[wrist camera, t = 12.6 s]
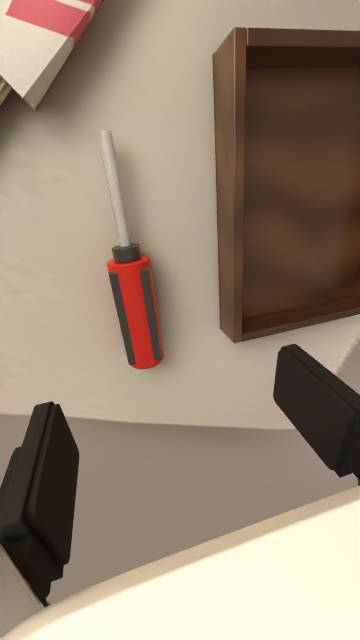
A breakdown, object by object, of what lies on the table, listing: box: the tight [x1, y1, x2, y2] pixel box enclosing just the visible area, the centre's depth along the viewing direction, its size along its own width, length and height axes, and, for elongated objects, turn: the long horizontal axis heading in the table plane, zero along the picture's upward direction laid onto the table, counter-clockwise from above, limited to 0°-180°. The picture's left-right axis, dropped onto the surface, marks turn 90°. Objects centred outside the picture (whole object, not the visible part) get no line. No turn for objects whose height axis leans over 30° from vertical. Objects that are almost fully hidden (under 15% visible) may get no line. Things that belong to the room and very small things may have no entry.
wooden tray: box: [213, 28, 360, 343], centre depth 22 cm, size 21×17×3 cm
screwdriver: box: [98, 130, 164, 369], centre depth 20 cm, size 17×3×3 cm, turn 5°
